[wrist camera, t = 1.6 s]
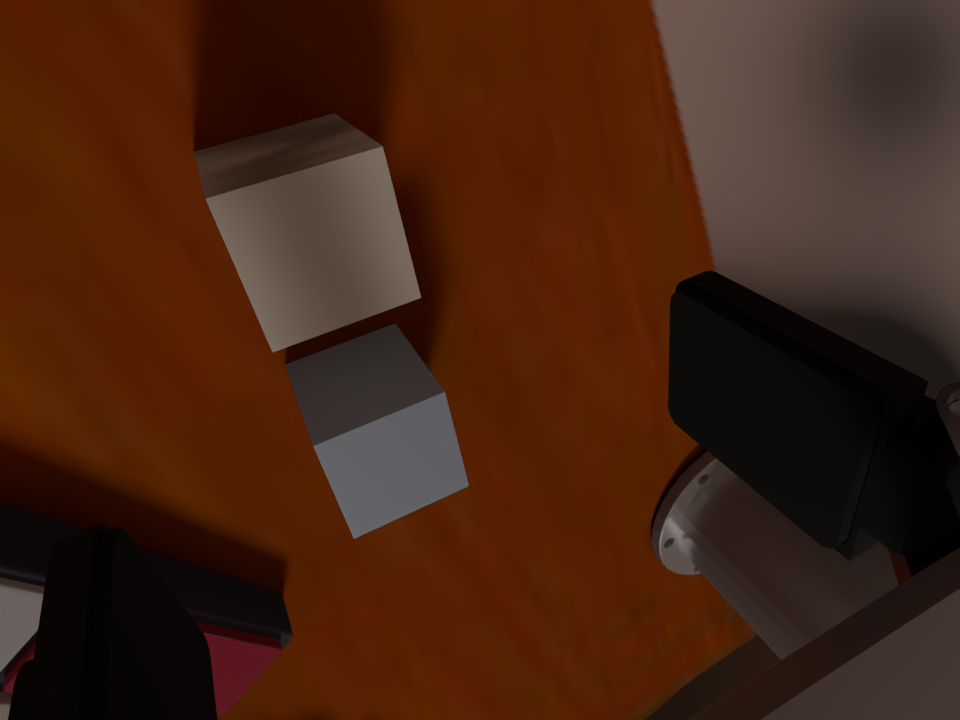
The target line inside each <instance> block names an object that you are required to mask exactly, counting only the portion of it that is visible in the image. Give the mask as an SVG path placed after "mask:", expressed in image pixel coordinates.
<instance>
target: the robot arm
mask: <svg viewBox="0 0 960 720" xmlns="http://www.w3.org/2000/svg"><path fill="white" fill-rule="evenodd" d="M927 384H928V381H927V380H925V379H923V378H921V377H919V376H917V375H915V374H913V373H911V372H909V371H907V370H905V369H903V368H901V367H899V366H897V365H895V364H894V363H892V362H890V361H888V360H886V359H884V358H882V357H880V356H878V355H876V354H874V353H872V352H870V351H868V350H866V349H864V348H862V347H860V346H858V345H857V344H854V343H853V342H851V341H848V340H847V339H845V338H843V337H841V336H839V335H837V334H835V333H833V332H831V331H829V330H827V329H825V328H823V327H821V326H820V325H817V324H816V323H814V322H812V321H810V320H808V319H806V318H804V317H802V316H800V315H798V314H796V313H794V312H792V311H790V310H788V309H787V308H785V307H783V306H781V305H779V304H777V303H775V302H773V301H771V300H769V299H767V298H765V297H763V296H761V295H759V294H757V293H755V292H753V291H751V290H750V289H748V288H746V287H744V286H742V285H740V284H738V283H736V282H734V281H732V280H730V279H728V278H726V277H724V276H722V275H720V274H718V273H717V272H714V271H705V272H703V273H700V274H698V275H695V276H693V277H691V278H688V279H686V280H683V281H681V282H680V283H679V284H678V285H677V287H676V291H675V293H674V294H673V295H672V297H671V301H670V345H669V394H668V409H669V413H670V416H671V418H672V420H673V421H674V422H675V424H676V425H677V426H678V427H679V428H681V429H682V430H683V431H684V432H685V433H687V434H688V435H689V436H690V437H691V438H693V439H694V440H695V441H696V442H697V443H699V444H700V445H701V446H702V447H703V448H705V449H706V450H707V451H706V452H705V453H704V454H703V455H701V456H700V457H699V458H698V459H697V460H695V461H694V462H693V463H692V464H691V465H690V466H689V467H688V468H687V469H686V470H685V471H684V472H683V473H682V475H681V476H680V477H679V478H678V479H677V481H676V482H675V483H674V485H673V486H672V487H671V488H670V490H669V492H668V493H667V495H666V497H665V498H664V500H663V502H662V503H661V506H660V508H659V510H658V513H657V515H656V518H655V522H654V525H653V530H652V545H653V549H654V552H655V554H656V555H657V557H658V559H659V560H660V561H661V562H662V563H663V564H664V565H665V566H666V567H667V568H668V569H669V570H671V571H673V572H675V573H678V574H684V575H690V574H699V573H701V574H702V575H703V576H704V577H705V578H706V579H707V580H708V581H709V582H710V583H711V584H712V585H713V587H714V588H715V589H716V590H717V591H718V592H719V593H720V594H721V595H722V596H723V597H724V598H725V599H726V600H727V601H728V603H729V604H730V605H731V606H732V607H733V608H734V609H735V610H736V611H737V612H738V613H739V614H740V615H741V616H742V618H743V619H744V620H745V621H746V622H747V623H748V624H749V625H750V626H751V627H752V628H753V629H754V630H755V631H756V632H757V634H758V635H759V636H760V637H761V638H762V639H763V640H764V641H765V642H766V643H767V644H768V645H769V646H770V647H771V648H772V650H773V651H774V652H775V653H776V654H777V655H778V656H779V657H780V658H781V659H782V660H781V661H779V662H778V663H776V664H775V665H773V666H772V667H770V668H769V669H767V670H765V671H764V672H762V673H761V674H759V675H758V676H756V677H754V678H753V679H751V680H750V681H748V682H747V683H745V684H744V685H742V686H741V687H739V688H737V689H736V690H734V691H733V692H731V693H730V694H728V695H727V696H725V697H723V698H722V699H720V700H719V701H717V702H716V703H714V704H713V705H711V706H710V707H708V708H707V709H705V710H703V711H702V712H700V713H699V714H697V715H696V716H694V717H693V718H691V719H689V720H960V381H956V382H953V383H949V384H947V385H946V386H945V387H943V388H941V389H940V390H939V392H938V394H937V396H936V398H935V400H933V399H931V398H929V397H927V396H926V395H924V393H925V390H926V387H927ZM8 720H217V711H216V701H215V692H214V683H213V673H212V664H211V655H210V649H209V646H208V643H207V640H206V637H205V635H204V633H203V632H202V630H201V629H200V627H199V626H198V625H197V623H196V622H195V621H194V620H193V618H192V617H191V616H190V614H189V613H188V612H187V610H186V609H185V608H184V607H183V605H182V604H181V603H180V601H179V600H178V599H177V597H176V596H175V595H174V593H173V592H172V591H171V590H170V588H169V587H168V586H167V584H166V583H165V582H164V580H163V579H162V578H161V577H160V575H159V574H158V573H157V571H156V570H155V569H154V567H153V566H152V565H151V563H150V562H149V561H148V560H147V558H146V557H145V556H144V554H143V553H142V552H141V550H140V549H139V548H138V547H137V545H136V544H135V543H134V541H133V540H132V539H131V537H130V536H129V535H128V533H127V532H126V531H125V530H124V529H123V528H121V527H116V528H114V529H112V530H109V529H108V528H107V527H106V526H104V525H102V524H96V525H94V526H91V527H89V528H87V529H84V530H82V531H79V532H77V533H75V534H72V535H70V536H67V537H65V538H63V539H60V540H58V541H55V542H54V543H53V544H52V546H51V549H50V554H49V561H48V567H47V574H46V580H45V587H44V593H43V600H42V606H41V613H40V620H39V626H38V633H37V639H36V646H35V652H34V659H31V660H29V661H27V662H25V663H24V664H23V665H22V667H21V668H20V669H19V671H18V673H17V676H16V679H15V683H14V687H13V693H12V699H11V704H10V710H9V716H8Z"/></svg>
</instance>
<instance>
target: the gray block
mask: <svg viewBox="0 0 960 720" xmlns="http://www.w3.org/2000/svg"><path fill="white" fill-rule="evenodd" d="M285 366H286V369H287V372H288V375H289V378H290V381H291V384H292V387H293V389H294V392H295V395H296V398H297V401H298V404H299V407H300V409H301V412H302V415H303V418H304V421H305V424H306V427H307V429H308V432H309V435H310V438H311V441H312V444H313V447H314V449H315V451H316V453H317V456H318V458H319V460H320V463H321V465H322V467H323V469H324V472H325V474H326V476H327V478H328V481H329V483H330V485H331V488H332V490H333V492H334V494H335V497H336V499H337V501H338V504H339V506H340V508H341V510H342V513H343V515H344V517H345V520H346V522H347V524H348V526H349V529H350V531H351V533H352V535H353V538H354V539H355V538H357V537H359V536H361V535H363V534H365V533H368V532H370V531H372V530H374V529H376V528H378V527H381V526H383V525H385V524H387V523H389V522H391V521H394V520H396V519H398V518H400V517H402V516H404V515H407V514H409V513H411V512H413V511H415V510H418V509H420V508H422V507H424V506H426V505H428V504H431V503H433V502H435V501H437V500H439V499H441V498H444V497H446V496H448V495H450V494H452V493H454V492H457V491H459V490H461V489H463V488H465V487H467V486H469V485H468V481H467V477H466V473H465V469H464V465H463V461H462V457H461V453H460V449H459V445H458V442H457V438H456V434H455V430H454V426H453V422H452V418H451V414H450V410H449V406H448V402H447V398H446V395H445V391H444V390H443V389H442V387H441V386H440V384H439V383H438V382H437V380H436V379H435V378H434V376H433V375H432V373H431V372H430V371H429V369H428V368H427V366H426V365H425V364H424V362H423V361H422V359H421V358H420V357H419V355H418V354H417V353H416V351H415V350H414V348H413V347H412V346H411V344H410V343H409V341H408V340H407V339H406V337H405V336H404V334H403V333H402V332H401V330H400V329H399V328H398V326H397V325H396V323H394V324H392V325H389V326H386V327H384V328H381V329H378V330H376V331H373V332H370V333H368V334H365V335H362V336H360V337H357V338H355V339H352V340H349V341H347V342H344V343H341V344H339V345H336V346H333V347H331V348H328V349H325V350H323V351H320V352H317V353H315V354H312V355H309V356H307V357H304V358H301V359H299V360H296V361H293V362H291V363H288V364H285Z"/></svg>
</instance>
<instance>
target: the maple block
mask: <svg viewBox="0 0 960 720" xmlns="http://www.w3.org/2000/svg"><path fill="white" fill-rule="evenodd" d="M194 156H195V160H196V163H197V167H198V171H199V175H200V179H201V183H202V187H203V191H204V195H205V199H206V201H207V203H208V205H209V208H210V210H211V212H212V215H213V217H214V219H215V222H216V224H217V226H218V228H219V231H220V233H221V235H222V238H223V240H224V242H225V244H226V247H227V249H228V251H229V254H230V256H231V258H232V260H233V263H234V265H235V267H236V270H237V272H238V274H239V276H240V279H241V281H242V283H243V286H244V288H245V290H246V292H247V295H248V297H249V299H250V302H251V304H252V306H253V308H254V311H255V313H256V315H257V318H258V320H259V322H260V324H261V327H262V329H263V331H264V334H265V336H266V338H267V341H268V343H269V345H270V347H271V350H272V352H275V351H278V350H281V349H284V348H286V347H289V346H292V345H294V344H297V343H300V342H303V341H305V340H308V339H311V338H313V337H316V336H319V335H322V334H324V333H327V332H330V331H332V330H335V329H338V328H341V327H343V326H346V325H349V324H351V323H354V322H357V321H360V320H362V319H365V318H368V317H370V316H373V315H376V314H379V313H381V312H384V311H387V310H389V309H392V308H395V307H398V306H400V305H403V304H406V303H408V302H411V301H414V300H417V299H419V298H421V295H420V291H419V287H418V283H417V279H416V275H415V271H414V267H413V263H412V260H411V256H410V252H409V248H408V244H407V240H406V236H405V232H404V228H403V224H402V220H401V216H400V212H399V208H398V204H397V201H396V197H395V193H394V189H393V185H392V181H391V177H390V173H389V169H388V165H387V161H386V157H385V153H384V149H383V146H382V145H380V144H379V143H377V142H376V141H374V140H373V139H371V138H370V137H369V136H367V135H366V134H364V133H363V132H361V131H360V130H358V129H357V128H355V127H354V126H353V125H351V124H350V123H348V122H347V121H345V120H344V119H342V118H341V117H340V116H338V115H337V114H335V113H333V114H329V115H326V116H322V117H319V118H315V119H311V120H308V121H304V122H300V123H297V124H293V125H289V126H286V127H282V128H279V129H275V130H271V131H268V132H264V133H260V134H257V135H253V136H250V137H246V138H242V139H239V140H235V141H231V142H228V143H224V144H221V145H217V146H213V147H210V148H206V149H202V150H199V151H195V152H194Z"/></svg>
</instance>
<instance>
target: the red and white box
mask: <svg viewBox="0 0 960 720" xmlns="http://www.w3.org/2000/svg"><path fill="white" fill-rule="evenodd" d="M79 531H82V529H81V528H79V527H78V526H75V525H72V524H69V523H66V522H63V521H60V520H57V519H54V518H51V517H48V516H45V515H42V514H39V513H36V512H33V511H30V510H27V509H24V508H21V507H18V506H15V505H12V504H9V503H6V502H3V501H0V720H8V716H9V710H10V704H11V699H12V693H13V687H14V683H15V679H16V676H17V673H18V671H19V669H20V668H21V667H22V665H23V664H24V663H25V662H27V661H29V660H31V659H34V652H35V646H36V639H37V633H38V626H39V620H40V613H41V606H42V600H43V593H44V587H45V580H46V574H47V567H48V561H49V554H50V549H51V546H52V544H53V543H54V542H55V541H58V540H60V539H63V538H65V537H67V536H70V535H72V534H75V533H77V532H79ZM140 550H141V549H140ZM141 552H142V553H143V554H144V556H145V557H146V558H147V560H148V561H149V562H150V563H151V565H152V566H153V567H154V569H155V570H156V571H157V573H158V574H159V575H160V577H161V578H162V579H163V580H164V582H165V583H166V584H167V586H168V587H169V588H170V590H171V591H172V592H173V593H174V595H175V596H176V597H177V599H178V600H179V601H180V603H181V604H182V605H183V607H184V608H185V609H186V610H187V612H188V613H189V614H190V616H191V617H192V618H193V620H194V621H195V622H196V623H197V625H198V626H199V627H200V629H201V630H202V632H203V633H204V635H205V637H206V640H207V643H208V646H209V649H210V655H211V664H212V673H213V683H214V692H215V701H216V711H217V718H218V717H219V716H220V715H222V714H224V713H225V712H226V711H227V710H228V709H229V708H230V707H231V706H232V705H233V704H234V703H235V702H236V701H237V700H238V699H239V698H240V696H241V695H242V694H243V693H244V692H245V691H246V690H247V689H248V688H249V687H250V686H251V685H252V684H253V683H254V682H255V681H256V679H257V678H258V677H259V676H260V675H261V674H262V673H263V672H264V671H265V670H266V669H267V668H268V667H269V666H270V665H271V664H272V663H273V661H274V660H275V659H276V658H277V657H278V656H279V655H280V654H281V652H282V649H283V648H284V647H285V646H286V645H287V644H288V643H289V641H290V640H291V639H292V637H293V633H292V629H291V625H290V622H289V618H288V614H287V610H286V607H285V603H284V599H283V596H282V594H280V593H278V592H275V591H272V590H269V589H266V588H263V587H260V586H257V585H254V584H251V583H248V582H245V581H242V580H239V579H236V578H233V577H230V576H227V575H224V574H220V573H217V572H214V571H211V570H208V569H205V568H202V567H199V566H196V565H193V564H190V563H186V562H183V561H180V560H176V559H173V558H169V557H166V556H162V555H159V554H155V553H152V552H148V551H145V550H141Z"/></svg>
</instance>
